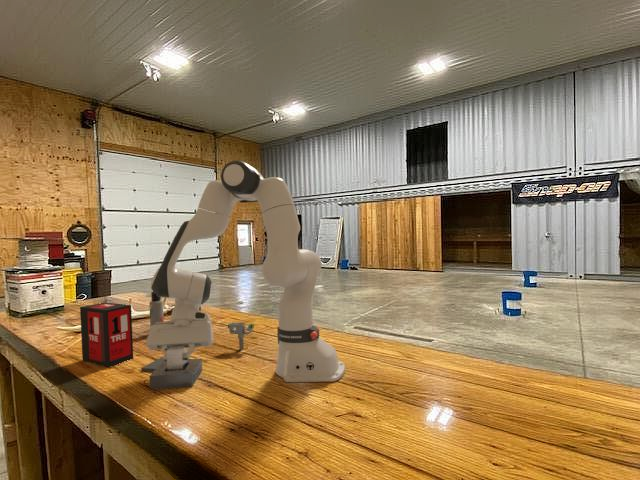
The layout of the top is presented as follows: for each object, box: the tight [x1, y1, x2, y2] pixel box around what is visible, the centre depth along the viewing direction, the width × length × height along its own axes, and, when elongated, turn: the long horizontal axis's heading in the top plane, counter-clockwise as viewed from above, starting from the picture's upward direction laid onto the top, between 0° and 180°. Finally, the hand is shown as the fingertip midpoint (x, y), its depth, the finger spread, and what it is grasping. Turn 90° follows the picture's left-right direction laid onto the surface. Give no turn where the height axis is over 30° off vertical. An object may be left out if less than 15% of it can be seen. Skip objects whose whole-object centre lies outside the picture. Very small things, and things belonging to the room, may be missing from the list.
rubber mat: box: [140, 356, 164, 373], centre depth 116 cm, size 10×10×1 cm
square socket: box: [149, 357, 203, 391], centre depth 105 cm, size 12×12×4 cm
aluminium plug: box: [166, 345, 187, 371], centre depth 105 cm, size 4×4×10 cm
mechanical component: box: [227, 322, 255, 351], centre depth 131 cm, size 3×10×10 cm, turn 79°
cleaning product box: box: [79, 301, 134, 368], centre depth 124 cm, size 16×9×20 cm, turn 62°
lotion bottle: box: [148, 291, 165, 328], centre depth 156 cm, size 6×6×20 cm
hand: (176, 359), depth 104 cm, fingers closed on aluminium plug, 4 cm apart
